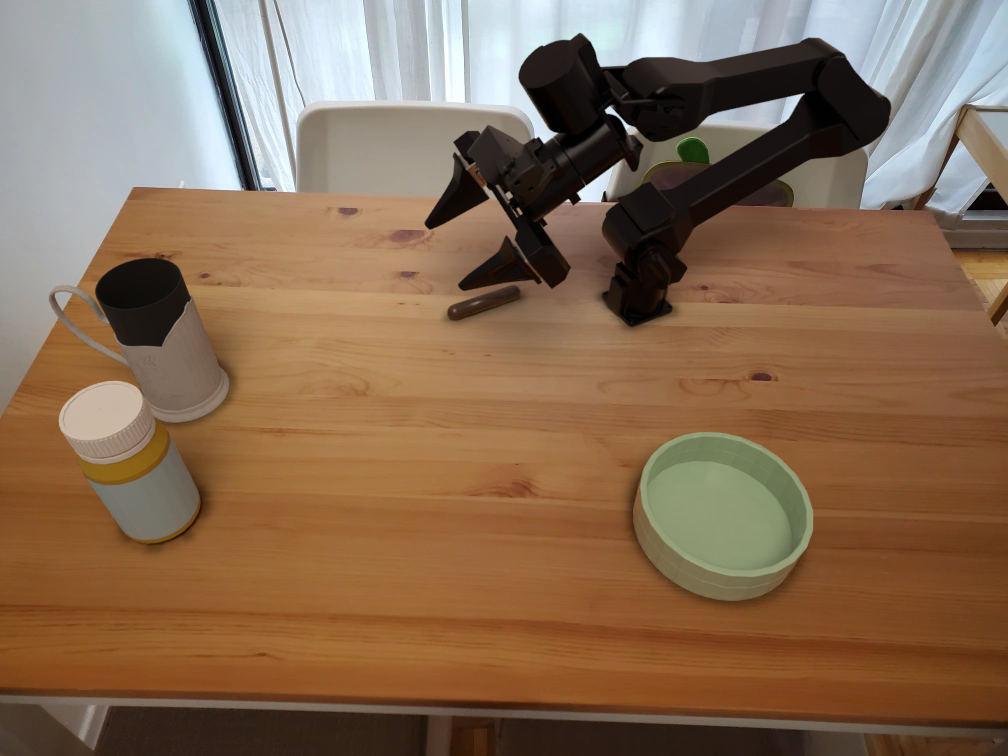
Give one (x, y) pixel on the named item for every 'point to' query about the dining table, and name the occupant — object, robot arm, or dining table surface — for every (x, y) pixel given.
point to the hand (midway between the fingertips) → (442, 256)
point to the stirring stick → (483, 302)
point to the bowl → (721, 515)
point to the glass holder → (156, 337)
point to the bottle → (130, 461)
